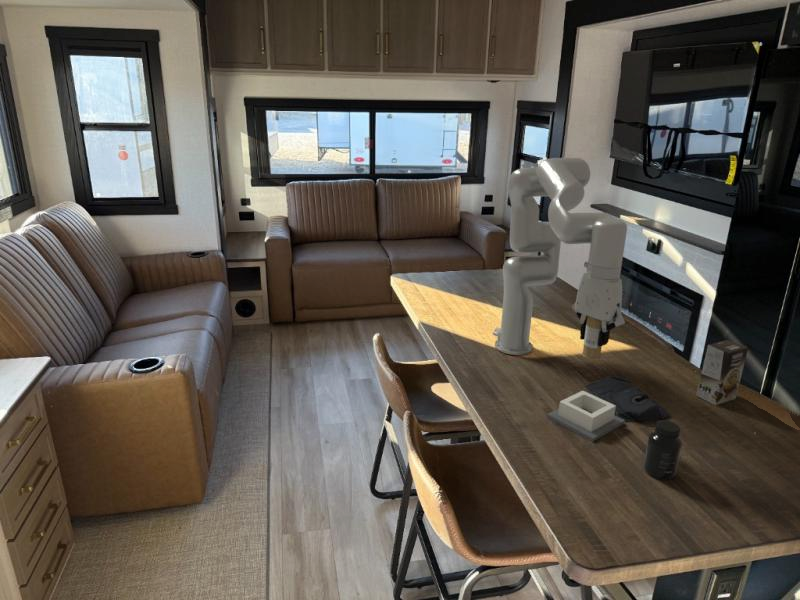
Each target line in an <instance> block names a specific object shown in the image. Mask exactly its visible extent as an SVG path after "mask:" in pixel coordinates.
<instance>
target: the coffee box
mask: <svg viewBox="0 0 800 600" xmlns="http://www.w3.org/2000/svg"><path fill="white" fill-rule="evenodd" d="M748 350H749V347H748V346H747V345H743V344H741V343H737V342H734V341H731V340H729V339H726V340H722V341H718V342H714V343H710V344H707V348H706V352H705V356H704V357H705V358H704V360H703V365H702V370H701V375H700V378H699V382H698V386H697V390H696V397H698V398H701V399H702V400H704V401H706V402H708V403H710V404H712V405H714V406H718V405H720V404H724V403H727V402H731V401H733V400H736V398H737V394H738V391H739V387H740V382H741V379H742V374H743V370H744V366H745V362H746V359H747V355H748Z"/></svg>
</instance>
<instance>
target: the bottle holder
mask: <svg viewBox="0 0 800 600" xmlns="http://www.w3.org/2000/svg"><path fill="white" fill-rule="evenodd" d="M558 405H559V406H558V408H557V409H554V410H553V411H551V412H549V413H547V414H546V418H547V419H548V420H551V421H552V422H555V423H557V425H558V424H559V425H561V427H564V428H565V429H568V430H569V431H572V432H573V433H574V434H577V435H579V436H581V437H583V438H585V439H587V440H588V441H590V442H592V443H593V442H595V441H597V440H598V439H601V437H603V436H605V435H607V434H609V433H611V432H612V431H615V430H616V429H618V428H619V427H621V426H622V425H625V424H626V423H625V420H623V419H621V418H619V417H617V416H615V415H614V414H615V408H616V406H615V405H613V404H611V403H609V402H607V401H604V400H602V399H600V398H598V397H596V396H594V395H593V394H592V393H590V392H587V391H584V390H581V391H579V392H577V393H575V394H574V393H573V394H572V395H570V396H568V397H566V398H564V399H562V400H560V401H559V404H558Z"/></svg>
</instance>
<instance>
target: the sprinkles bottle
mask: <svg viewBox="0 0 800 600" xmlns="http://www.w3.org/2000/svg"><path fill="white" fill-rule="evenodd" d="M600 331H602V322H601V320H598V319H595V318H592V317H589V316H588V317H587V324H586V330H585V338H584V339H583V348H582V353H581V355H582V357H583V358H584V359H586V360H590V361H598V360H599V359H601V358H602V357H601V356H602V355H601V354H602V353H601V352H602V347H603V346H601V347H600V346H598V338H599V332H600Z"/></svg>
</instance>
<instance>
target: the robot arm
mask: <svg viewBox="0 0 800 600" xmlns="http://www.w3.org/2000/svg"><path fill="white" fill-rule="evenodd" d="M590 179H591V168H590V166H589V164H588V163H587V161H586V160H585V159H582V158H579V157H551V158H547V159H545V160H542V161H541V162H540V163H539V164H538V166H537V167H522V168H518V169H516V170H514V171H512V173H511V174H510V176H509V179H508V182H507V186H508V187H507V192H508V197H509V201H510V208H511V210H510V211H511V213H510V223H509V225H510V227H509V246H510V249H511V250H512V251H513V252H517V253H540V255H520V256H519V255H518V256H512V257H509V258H507V259H506V260H505V261H504V263H503V266H502V278H503V301H502V310H501V311H502V312H501V324H500V328H499V327H496V328H495V329H494V331H493V332H492V335H493V336H496V337H497V339H496V340H495V342H494V347H495V348H496V350H498V351H499V352H501V353H504V354H508V355H512V356H513V355H514V356H522V355H528V354H530V353H532V352H533V350H534V345H533V344H532V342H530V334H531V333H530V332H531V325H532V316H533V315H532V314H533V304H534V299H533V295H532V294H531V292H530V291H529V289H528V287H531V286H542V285H543V286H545V285H547V286H548V285H551V284H553V283H555V281H556V280H557V278H558V274H559V273H558V272H559V266H560V265H559V264H560V257H561V255H560V254H561V242H562V243H564V244H567V245H580V244H583V245H584V244H590V246H589V253H588V254H589V255H588V261H585V262H584V263H583V267H584V268H586V272H584V273H583V275H582V277H581V279H580V282H579V285H578V290H577V294H576V297H575V299H576V300H575V302H574V303H573V304H572V306H571V309H572V310H573V311H574V313H575V314H576V316H577V318H578V319H579V320H578V321H579V324H580V332H579V334H580V338H579V339H580V340H583V341H584V338H585V330H586V324H587V317H588V316H589V317H592V318H595V319H598V320H601V322H602V331H600V332H599V338H598V346H600V347H601V346H602V347H604V346H606V345H607V344H608V343H609V342H610V341H609V340H610V333H611V331H612V330H614V329H615V328H617V327H620V326H623V325H625V323H626V322H625V319H624V317H623V315H622V312H621V311H622V301H623V281H622V278H620V277H621V271H622V265H623V258H624V251H625V246H626V245H625V244H626V238H627V233H628V232H627V231H628V226H627V223H626V222H625V221H623V220H620V219H617V218H615V217H614V216H613V215H612V214H610V213H607V212H572V213H571V212H569V211H571V210H573V209H575V208H576V207H578V206H579V205H580V203H582V201H583V199H584V196H585V187H587V185H588V183H589V181H590ZM534 197H541V198H542V197H549V198H550V203H549V206H548V211H547V215H548V221H540V219H539V218H540V207H539V204H538V202H537V200H536V199H535V198H534ZM613 319H615V321H613Z"/></svg>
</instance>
